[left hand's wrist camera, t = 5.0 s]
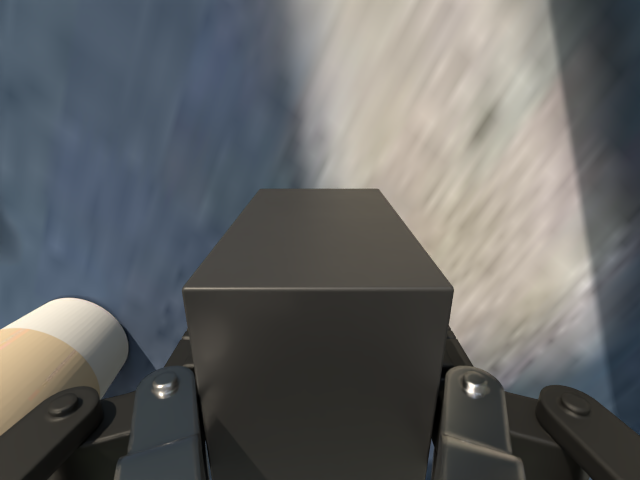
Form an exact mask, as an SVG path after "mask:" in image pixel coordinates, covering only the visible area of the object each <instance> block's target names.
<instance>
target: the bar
mask: <svg viewBox="0 0 640 480" xmlns="http://www.w3.org/2000/svg"><path fill="white" fill-rule="evenodd" d="M453 293H454V289H453V287H452V285H451V284H450V283H449V281H448V280H447V279H446V277H445V276H444V275H443V273H442V272H441V271H440V269H439V268H438V267H437V265H436V264H435V263H434V261H433V260H432V259H431V258H430V256H429V255H428V254H427V252H426V251H425V250H424V248H423V247H422V246H421V244H420V243H419V242H418V240H417V239H416V238H415V236H414V235H413V234H412V232H411V231H410V230H409V228H408V227H407V226H406V225H405V223H404V222H403V221H402V219H401V218H400V217H399V215H398V214H397V213H396V211H395V210H394V209H393V207H392V206H391V205H390V203H389V202H388V201H387V199H386V198H385V197H384V195H383V194H382V193H381V192H380V190H379V189H260V190H259V191H258V192H257V193H256V195H255V196H254V197H253V199H252V200H251V201H250V202H249V204H248V205H247V206H246V207H245V209H244V210H243V211H242V213H241V214H240V215H239V216H238V218H237V219H236V220H235V221H234V223H233V224H232V225H231V227H230V228H229V229H228V230H227V232H226V233H225V234H224V236H223V237H222V238H221V239H220V241H219V242H218V243H217V244H216V246H215V247H214V248H213V250H212V251H211V252H210V253H209V255H208V256H207V257H206V258H205V260H204V261H203V262H202V264H201V265H200V266H199V267H198V269H197V270H196V271H195V272H194V274H193V275H192V276H191V278H190V279H189V280H188V281H187V283H186V284H185V285H184V287H183V288H182V294H183V300H184V307H185V313H186V319H187V325H188V332H189V338H190V344H191V350H192V357H193V363H194V369H195V375H196V382H197V388H198V394H199V400H200V407H201V413H202V419H203V425H204V432H205V438H206V444H207V450H208V457H209V463H210V469H211V475H212V480H425V476H426V470H427V463H428V457H429V450H430V444H431V437H432V430H433V424H434V417H435V411H436V404H437V398H438V391H439V384H440V378H441V371H442V365H443V358H444V352H445V345H446V339H447V332H448V325H449V319H450V312H451V306H452V299H453Z"/></svg>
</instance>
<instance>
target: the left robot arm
mask: <svg viewBox="0 0 640 480" xmlns="http://www.w3.org/2000/svg"><path fill="white" fill-rule="evenodd" d="M431 438H432V441H433V444H434V452H433V461H432V471H431V480H589V477H591V479H592V480H640V436H639V435H638V434H637V433H636V432H634V431H633V430H632V429H631V428H629V427H628V426H627V425H626V424H625V423H623V422H622V421H621V420H620V419H618V418H617V417H616V416H615V415H614V414H612V413H611V412H610V411H609V410H607V409H606V408H605V407H604V406H603V405H601V404H600V403H599V402H598V401H596V400H595V399H593V398H592V397H590V396H589V395H587V394H585V393H583V392H581V391H579V390H576V389H573V388H571V387H567V386H561V385H550V386H546V387H545V388H543V389H542V390H541V392H540V395H539V399H534V398H529V397H525V396H521V395H517V394H512V393H509V392H506V391H504V389H503V387H502V385H501V383H500V382H499V381H498V380H497V379H496V378H495V377H494V376H492V375H491V374H489V373H488V372H486V371H484V370H482V369H479V368H476V367H473V365H472V363H471V362H470V360H469V358H468V357H467V355H466V353H465V352H464V350H463V348H462V347H461V345H460V343H459V342H458V340H457V339H456V337H455V335H454V333H453V332H452V331H451V328H450V327H449V325H448V332H447V339H446V345H445V352H444V358H443V365H442V371H441V378H440V384H439V391H438V398H437V404H436V411H435V417H434V424H433V430H432V437H431ZM205 441H206V438H205V432H204V425H203V419H202V413H201V407H200V400H199V394H198V388H197V382H196V375H195V369H194V363H193V357H192V350H191V344H190V338H189V332H188V329H187V331H186V332H185V334H184V335H183V337H182V340H180V342H179V343H178V345H177V347H176V348H175V350H174V352H173V353H172V355H171V356H170V358H169V360H168V361H167V363H166V365H165V366H164V368H161V369H158V370H156V371H154V372H152V373H151V374H149V375H148V376H146V377H145V378H144V379H143V380H142V381H141V382H140V383H139V385H138V387H137V389H136V391H133V392H131V393H127V394H123V395H119V396H115V397H111V398H106V399H102V400H100V397H99V394H98V392H97V390H96V389H94V388H92V387H88V386H78V387H73V388H69V389H66V390H63V391H60V392H58V393H56V394H54V395H52V396H50V397H49V398H47V399H45V400H44V401H43V402H41V403H40V404H39V405H37V406H36V407H35V408H34V409H33V410H31V411H30V412H29V413H28V414H26V415H25V416H24V417H23V418H22V419H20V420H19V421H18V422H17V423H15V424H14V425H13V426H12V427H11V428H9V429H8V430H7V431H6V432H4V433H3V434H2V435H1V436H0V480H209V471H208V461H207V452H206V445H205Z"/></svg>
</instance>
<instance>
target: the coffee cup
mask: <svg viewBox="0 0 640 480" xmlns="http://www.w3.org/2000/svg"><path fill="white" fill-rule="evenodd" d="M127 356H128V340H127V337H126V334H125V332H124V330H123V328H122V326H121V325H120V323H119V322H118V321H117V320H116V319H115V318H114V317H113V316H112V315H111V314H110V313H109V312H108V311H106V310H105V309H103V308H102V307H100V306H98V305H96V304H94V303H92V302H89V301H86V300H82V299H76V298H62V299H57V300H53V301H51V302H48V303H46V304H45V305H43V306H41V307H39V308H38V309H36V310H34V311H32V312H31V313H29V314H27V315H25V316H24V317H22V318H20V319H19V320H17V321H15V322H13V323H12V324H10V325H8V326H6V327H5V328H3V329H1V330H0V436H1V435H2V434H3V433H4V432H6V431H7V430H8V429H9V428H11V427H12V426H13V425H14V424H15V423H17V422H18V421H19V420H20V419H22V418H23V417H24V416H25V415H26V414H28V413H29V412H30V411H31V410H33V409H34V408H35V407H36V406H37V405H39V404H40V403H41V402H43V401H44V400H45V399H47V398H49V397H50V396H52V395H54V394H56V393H58V392H60V391H63V390H66V389H69V388H73V387H78V386H88V387H92V388H94V389H96V390H97V392H98V394H99V397H100V400H101V399H102V397H103V396H104V394H105V393H106V391H107V390H108V388H109V386H110V385H111V383H112V382H113V380H114V379H115V377H116V376H117V374H118V372H119V371H120V369H121V368H122V366H123V365H124V363H125V361H126V359H127Z"/></svg>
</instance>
